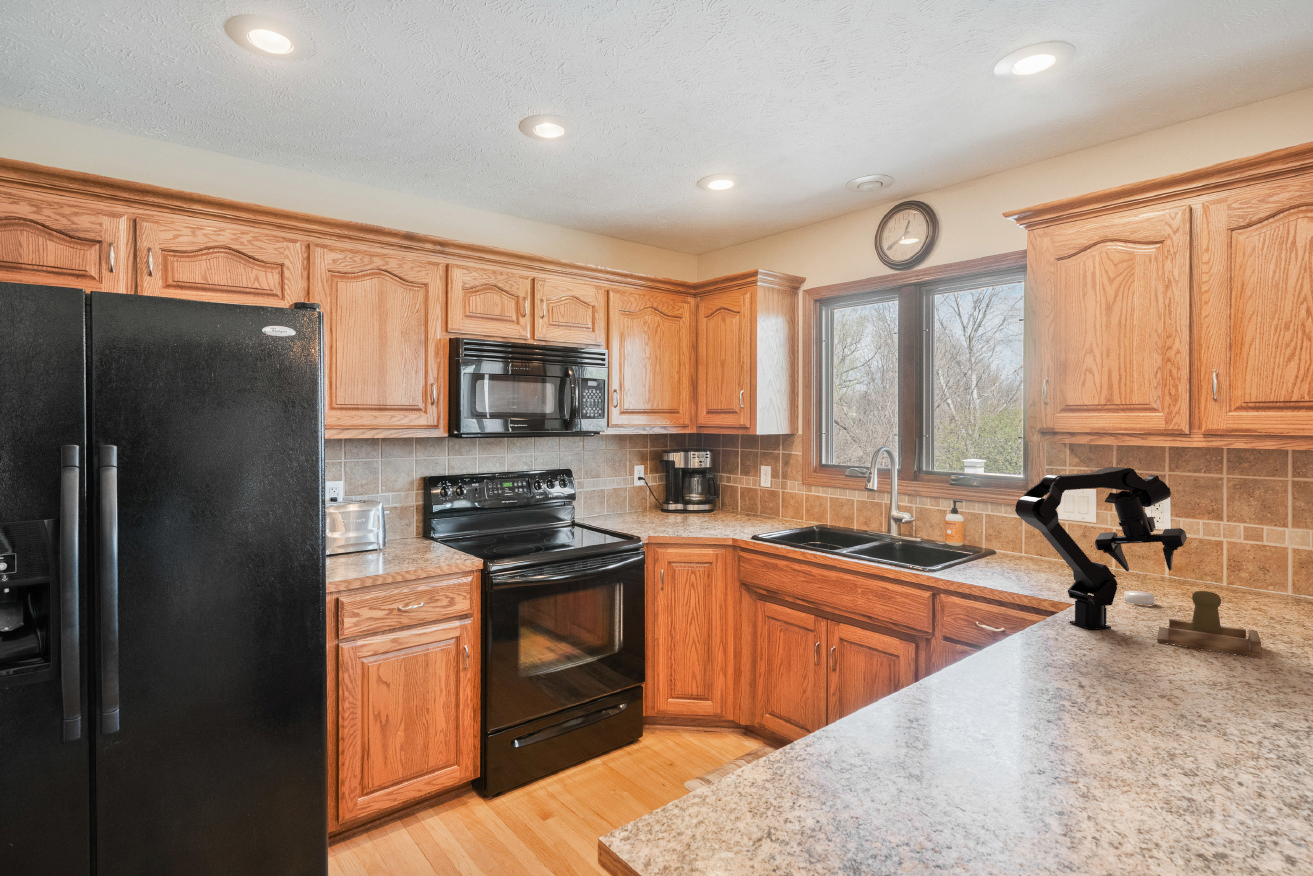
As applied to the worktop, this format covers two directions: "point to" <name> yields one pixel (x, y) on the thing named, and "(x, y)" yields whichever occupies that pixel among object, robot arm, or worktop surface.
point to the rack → (1212, 639)
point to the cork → (1206, 612)
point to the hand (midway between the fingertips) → (1148, 570)
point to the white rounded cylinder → (1139, 597)
